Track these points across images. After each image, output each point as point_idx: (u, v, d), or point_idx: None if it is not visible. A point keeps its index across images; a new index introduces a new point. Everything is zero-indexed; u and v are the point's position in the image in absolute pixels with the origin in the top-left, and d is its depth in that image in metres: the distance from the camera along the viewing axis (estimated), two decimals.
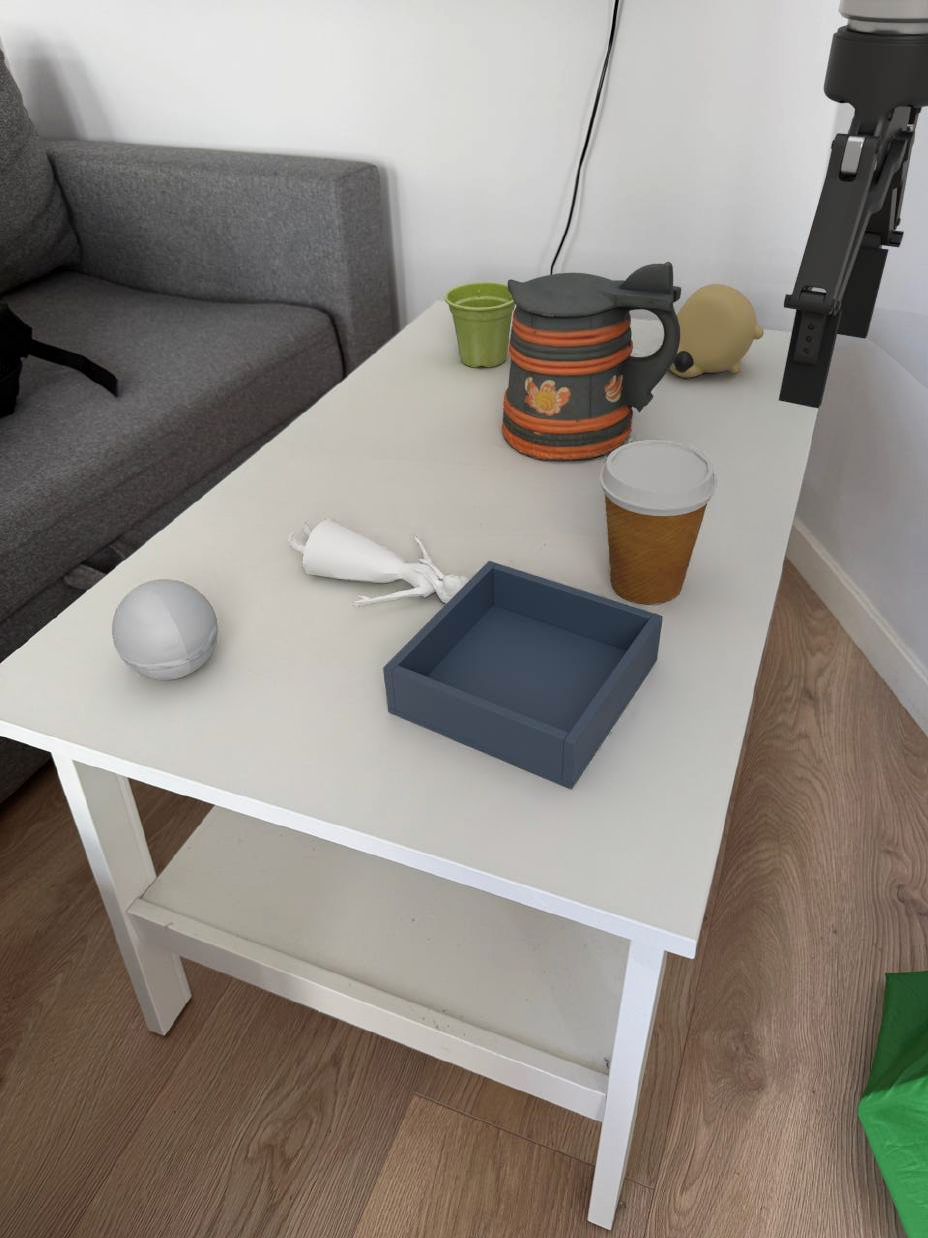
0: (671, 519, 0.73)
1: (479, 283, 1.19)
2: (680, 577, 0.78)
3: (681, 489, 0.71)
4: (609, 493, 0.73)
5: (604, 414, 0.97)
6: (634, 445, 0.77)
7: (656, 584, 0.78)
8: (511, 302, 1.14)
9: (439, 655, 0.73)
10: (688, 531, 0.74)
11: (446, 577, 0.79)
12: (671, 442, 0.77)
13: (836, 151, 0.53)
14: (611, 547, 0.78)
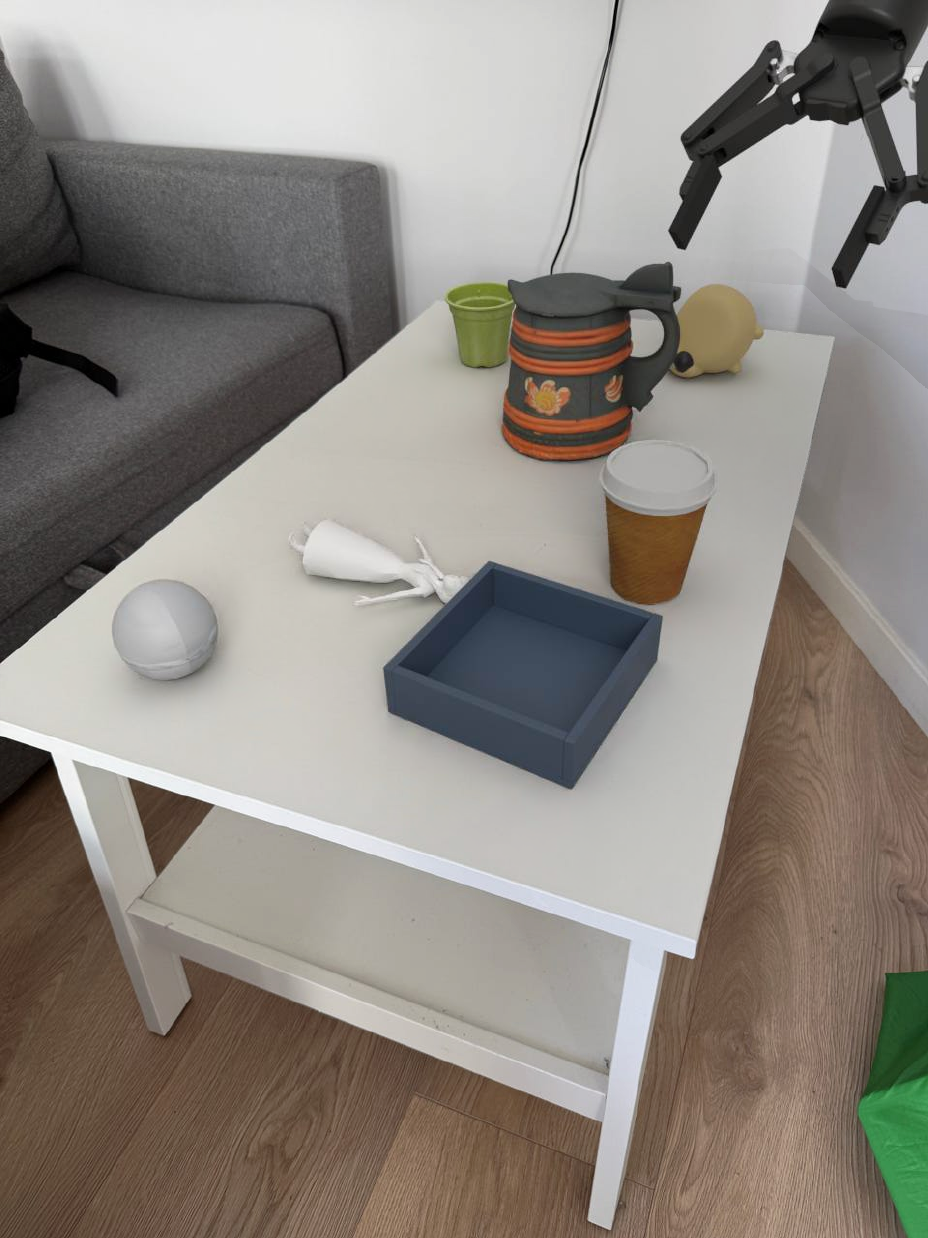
0: (671, 519, 0.73)
1: (479, 283, 1.19)
2: (680, 577, 0.78)
3: (681, 489, 0.71)
4: (609, 493, 0.73)
5: (604, 414, 0.97)
6: (634, 445, 0.77)
7: (656, 584, 0.78)
8: (511, 302, 1.14)
9: (439, 655, 0.73)
10: (688, 531, 0.74)
11: (446, 577, 0.79)
12: (671, 442, 0.77)
13: None
14: (611, 547, 0.78)
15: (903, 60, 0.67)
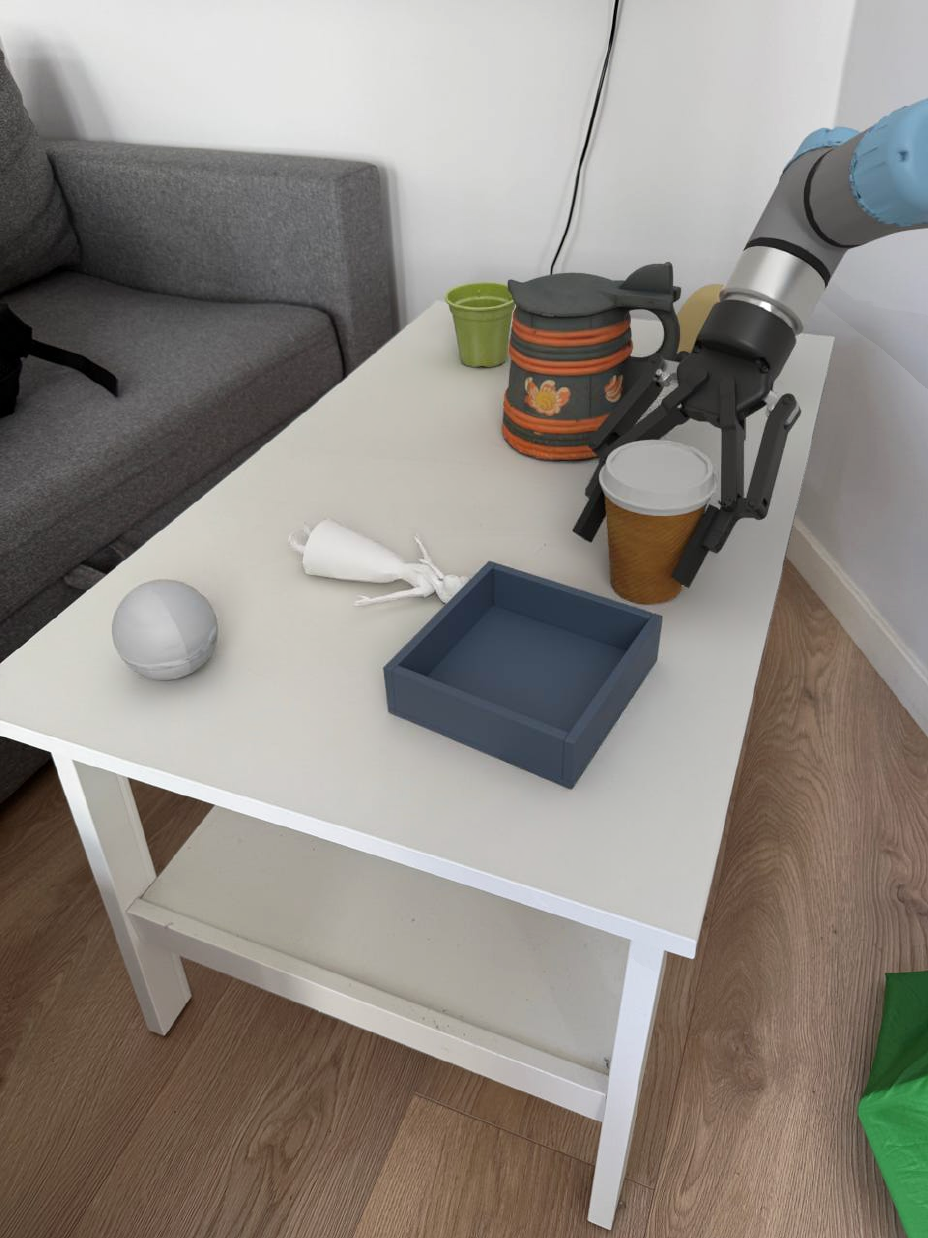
0: (670, 519, 0.73)
1: (479, 283, 1.19)
2: None
3: (681, 489, 0.71)
4: (609, 493, 0.73)
5: (604, 414, 0.97)
6: (634, 445, 0.77)
7: (656, 584, 0.78)
8: (511, 302, 1.14)
9: (439, 655, 0.73)
10: (688, 531, 0.74)
11: (446, 577, 0.79)
12: (671, 442, 0.77)
13: None
14: (611, 547, 0.78)
15: (767, 382, 0.73)
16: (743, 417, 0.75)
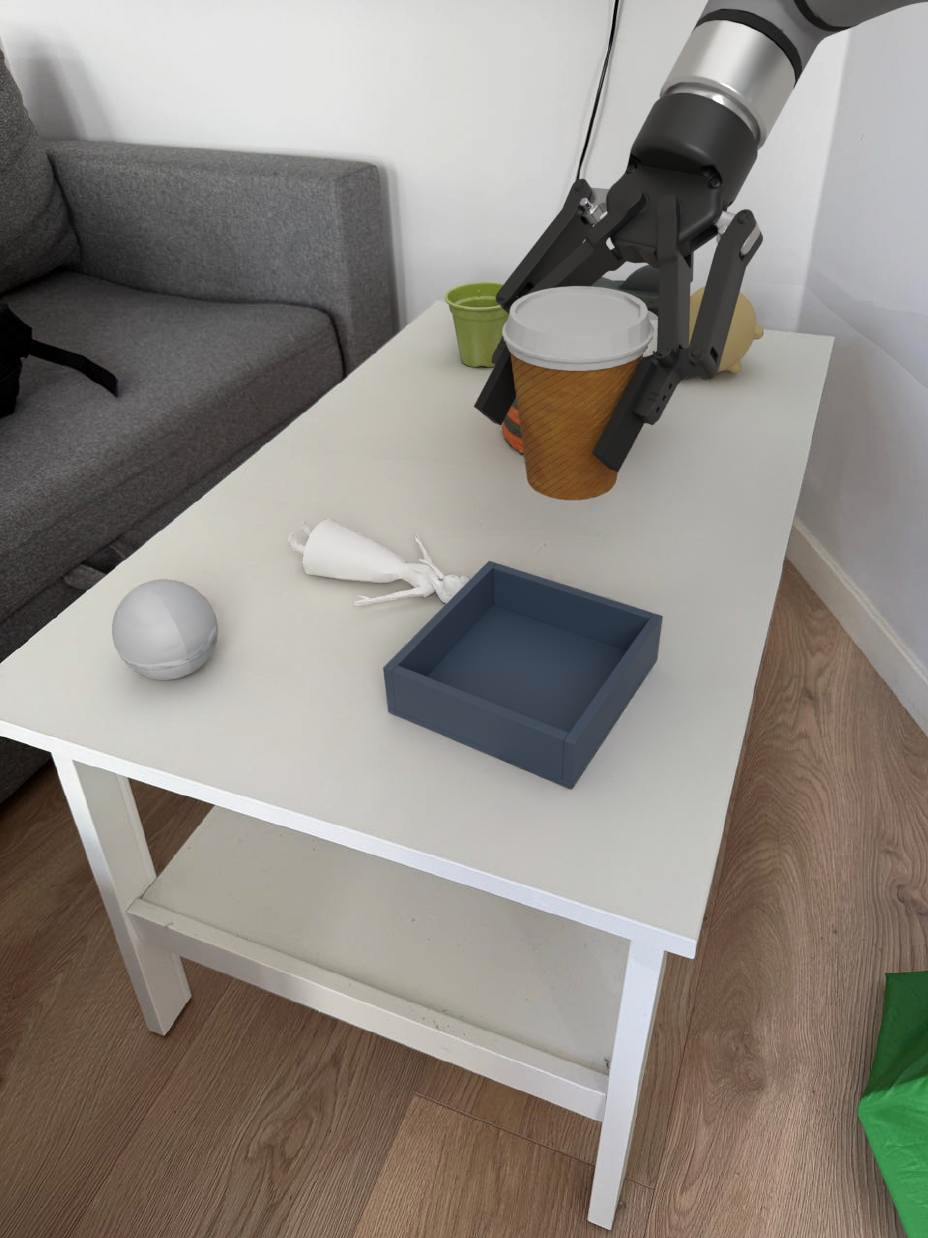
0: (591, 377, 0.55)
1: (479, 283, 1.19)
2: None
3: (602, 332, 0.54)
4: (511, 345, 0.56)
5: None
6: (550, 292, 0.60)
7: (579, 472, 0.60)
8: None
9: (439, 655, 0.73)
10: (616, 396, 0.57)
11: (446, 577, 0.79)
12: (597, 288, 0.60)
13: None
14: (522, 425, 0.61)
15: (718, 200, 0.56)
16: (689, 250, 0.58)
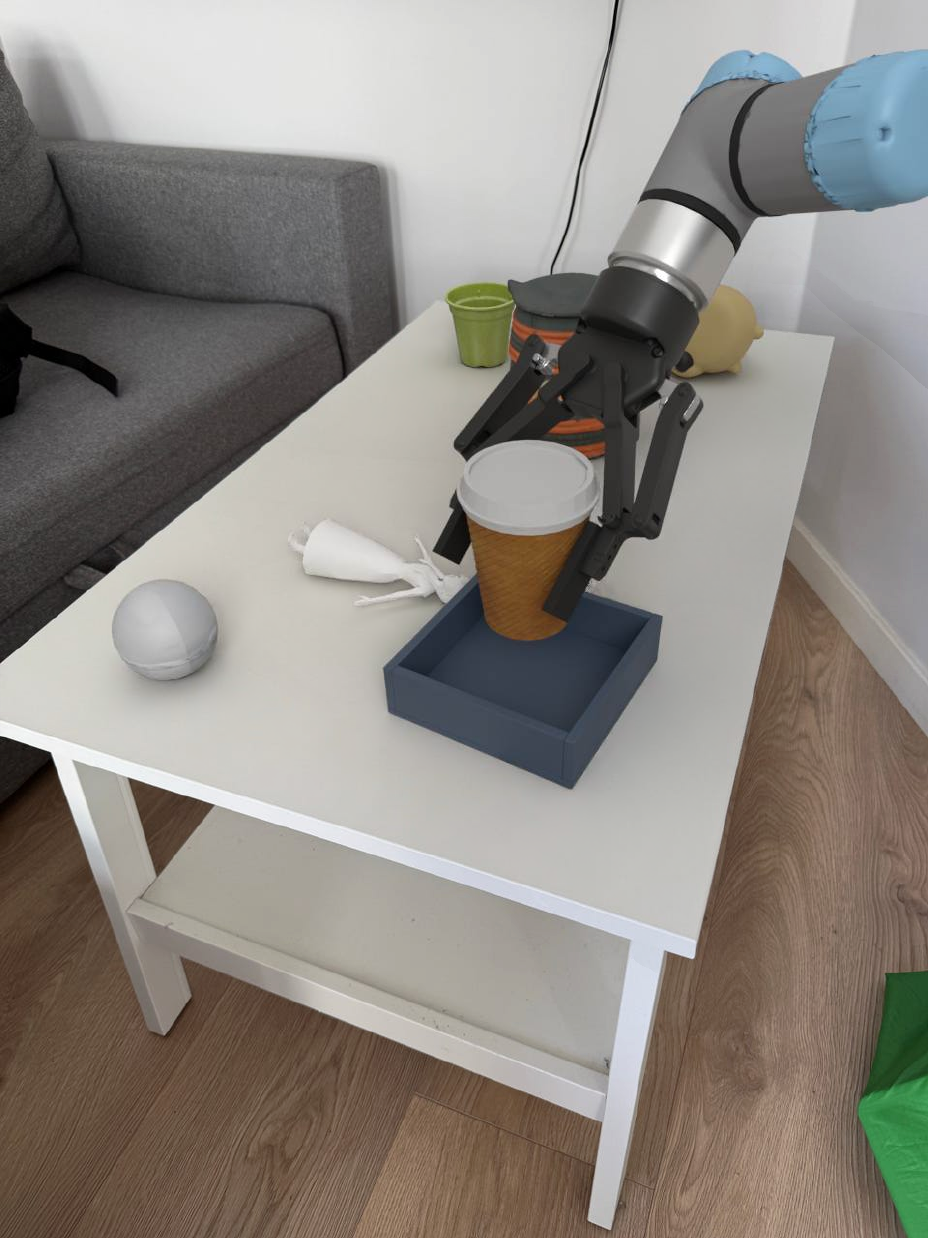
0: (539, 539, 0.58)
1: (479, 283, 1.19)
2: None
3: (548, 502, 0.57)
4: (464, 507, 0.59)
5: None
6: (503, 447, 0.63)
7: (532, 617, 0.63)
8: (511, 302, 1.14)
9: (439, 655, 0.73)
10: (564, 553, 0.60)
11: (446, 577, 0.79)
12: (549, 443, 0.63)
13: None
14: (477, 572, 0.64)
15: (661, 369, 0.59)
16: (634, 412, 0.61)
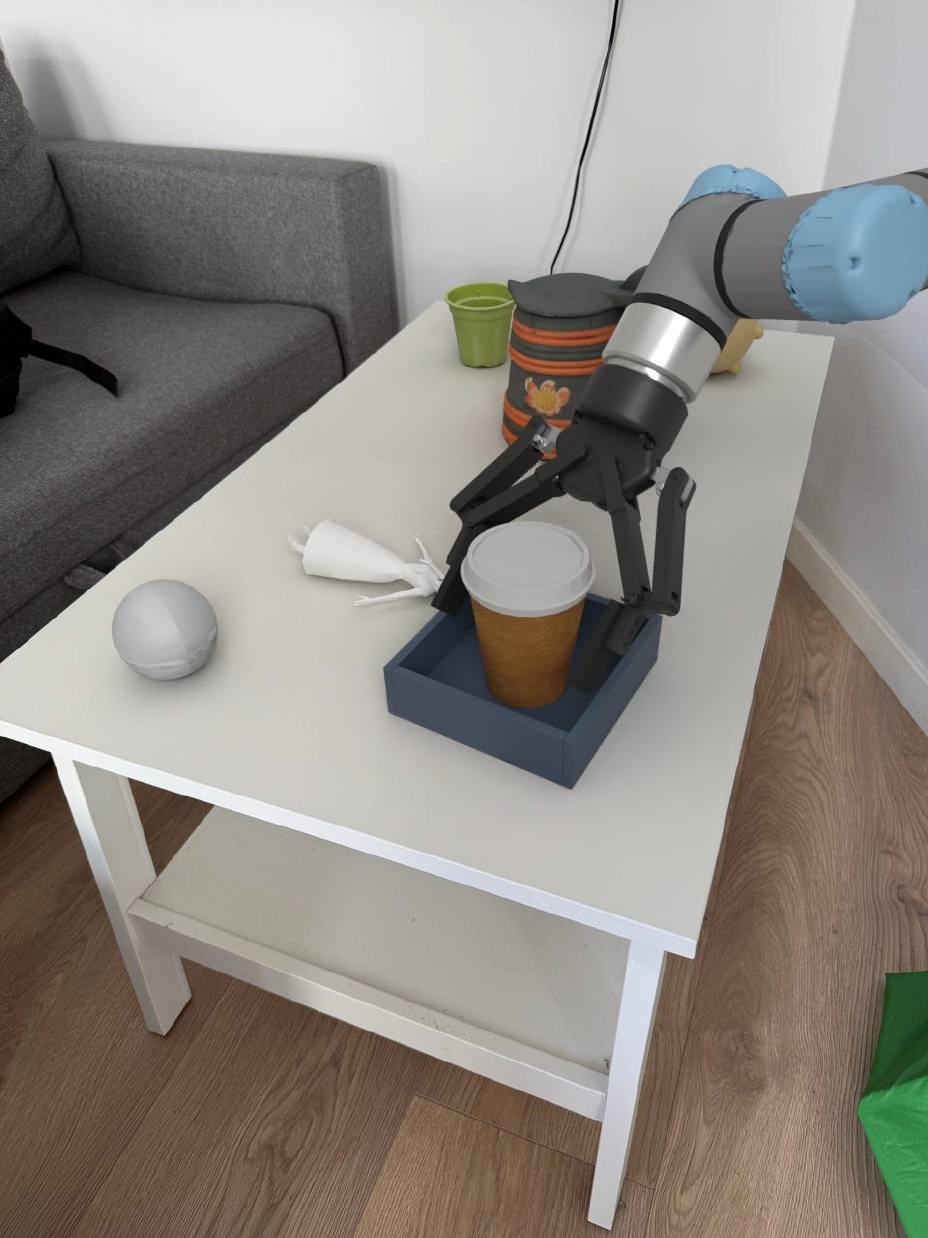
0: (538, 620, 0.62)
1: (479, 283, 1.19)
2: (560, 678, 0.68)
3: (546, 587, 0.61)
4: (468, 588, 0.63)
5: None
6: (505, 528, 0.67)
7: (531, 688, 0.67)
8: (511, 302, 1.14)
9: (439, 655, 0.73)
10: (562, 631, 0.64)
11: None
12: (547, 524, 0.67)
13: None
14: (480, 644, 0.68)
15: (652, 461, 0.63)
16: (633, 496, 0.65)
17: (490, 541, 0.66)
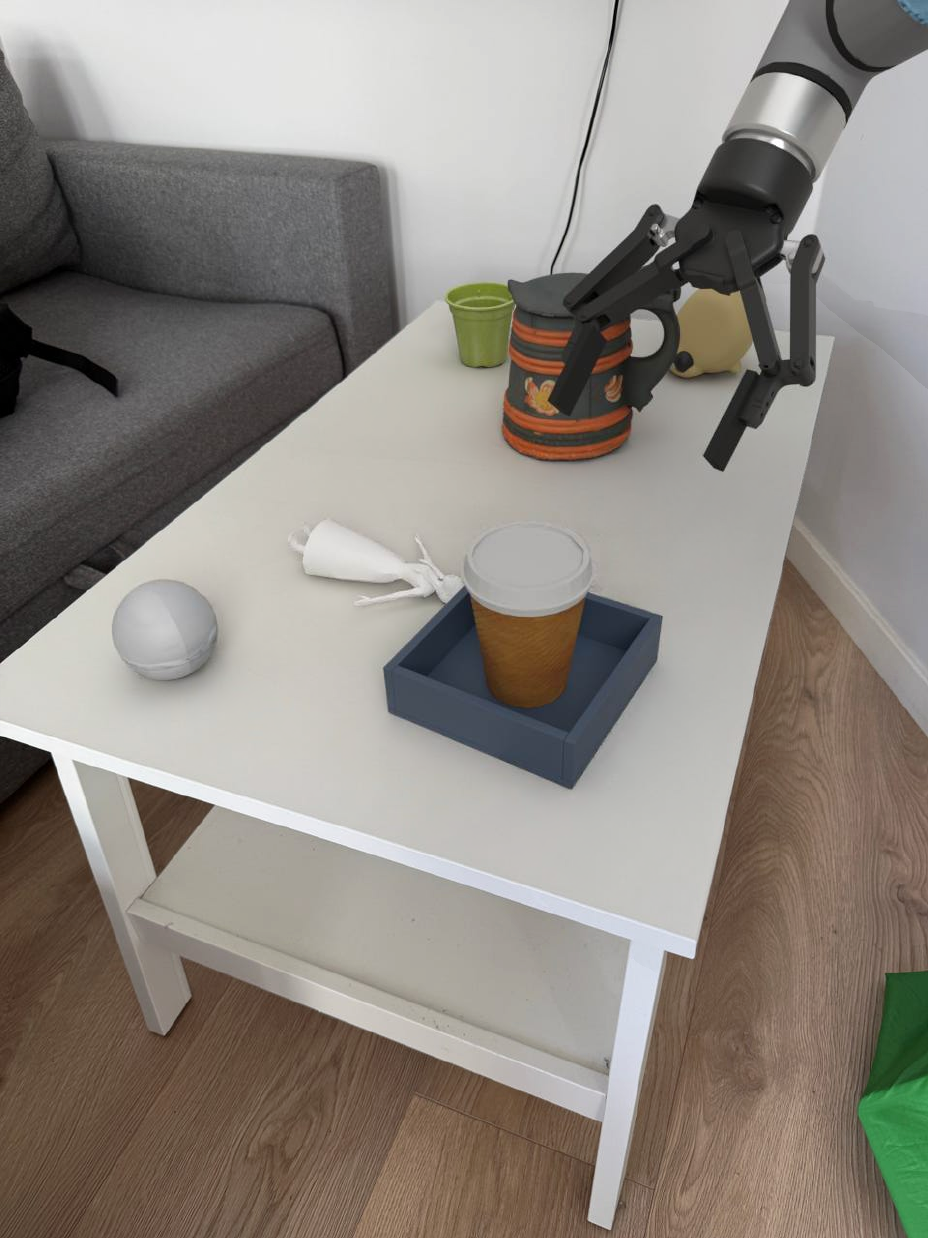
0: (538, 620, 0.62)
1: (479, 283, 1.19)
2: (560, 678, 0.68)
3: (546, 587, 0.61)
4: (468, 588, 0.63)
5: (604, 414, 0.97)
6: (504, 528, 0.67)
7: (531, 687, 0.67)
8: (511, 302, 1.14)
9: (439, 655, 0.73)
10: (562, 630, 0.64)
11: (446, 577, 0.79)
12: (547, 524, 0.67)
13: None
14: (480, 644, 0.68)
15: (780, 234, 0.63)
16: (759, 274, 0.65)
17: (490, 541, 0.66)
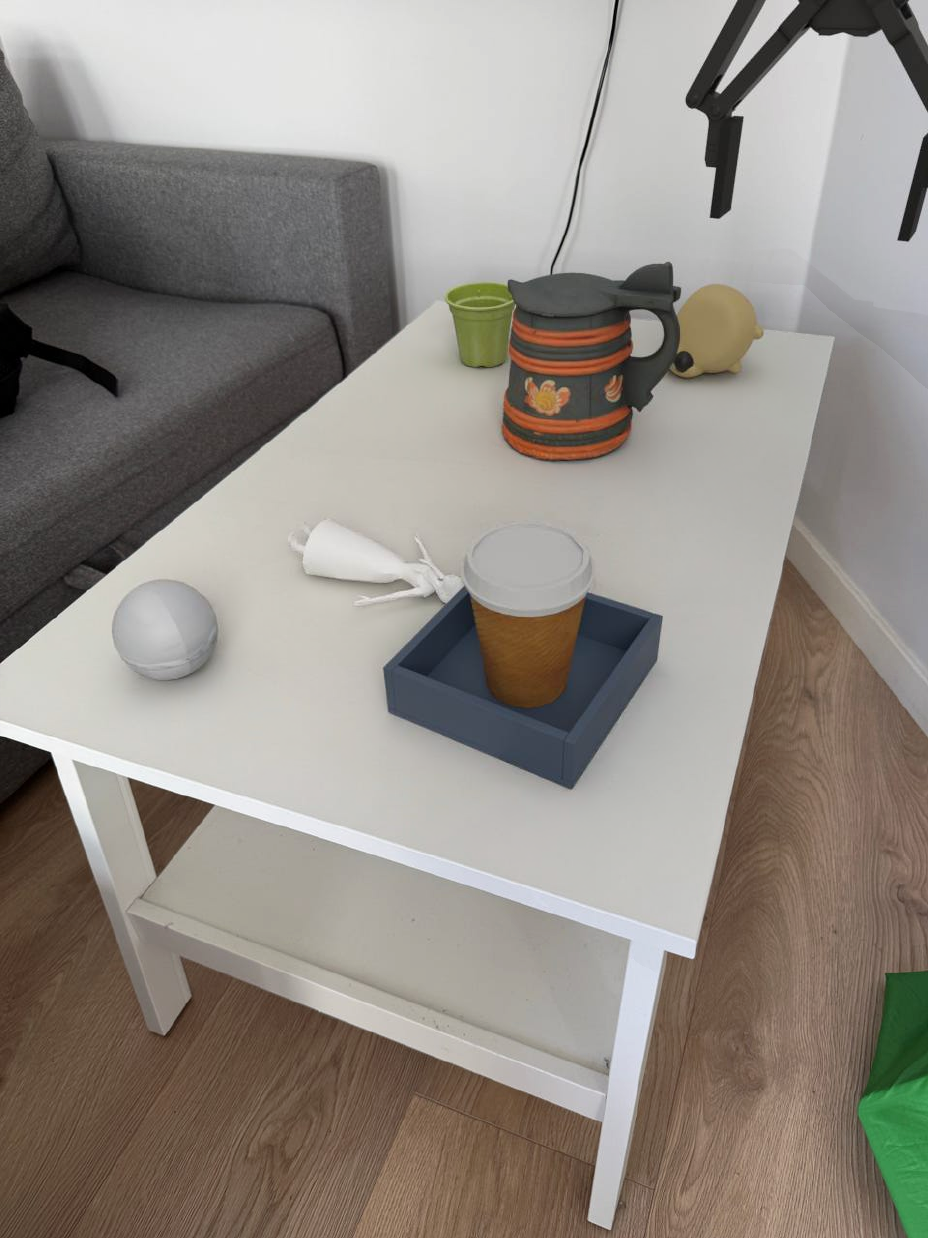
0: (538, 620, 0.62)
1: (479, 283, 1.19)
2: (560, 678, 0.68)
3: (546, 587, 0.61)
4: (468, 588, 0.63)
5: (604, 414, 0.97)
6: (504, 528, 0.67)
7: (531, 687, 0.67)
8: (511, 302, 1.14)
9: (439, 655, 0.73)
10: (561, 631, 0.64)
11: (446, 577, 0.79)
12: (547, 524, 0.67)
13: None
14: (480, 644, 0.68)
15: None
16: (906, 3, 0.58)
17: (490, 541, 0.66)
